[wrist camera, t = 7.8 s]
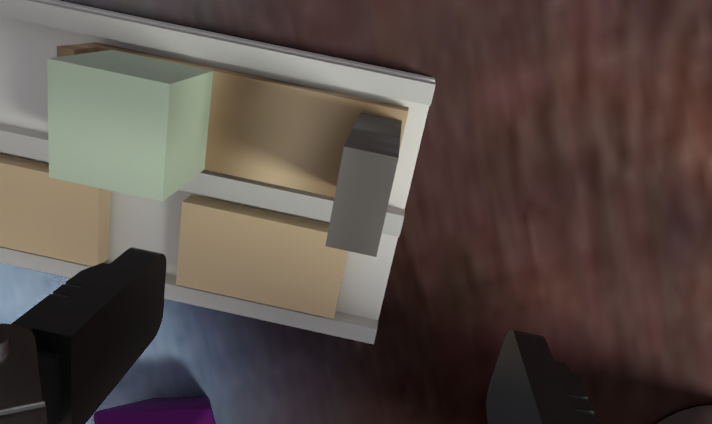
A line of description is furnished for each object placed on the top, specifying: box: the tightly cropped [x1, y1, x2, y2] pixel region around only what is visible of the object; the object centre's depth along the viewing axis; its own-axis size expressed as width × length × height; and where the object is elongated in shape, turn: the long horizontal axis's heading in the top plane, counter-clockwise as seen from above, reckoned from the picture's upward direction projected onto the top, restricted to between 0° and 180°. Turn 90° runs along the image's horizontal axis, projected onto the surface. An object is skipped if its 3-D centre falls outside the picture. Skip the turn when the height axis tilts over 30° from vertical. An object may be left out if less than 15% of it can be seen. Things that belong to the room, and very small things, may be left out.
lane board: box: [0, 0, 436, 344], centre depth 29 cm, size 25×15×2 cm, turn 79°
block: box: [47, 50, 213, 202], centre depth 25 cm, size 5×5×5 cm
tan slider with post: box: [57, 42, 409, 257], centre depth 24 cm, size 16×5×8 cm, turn 79°
